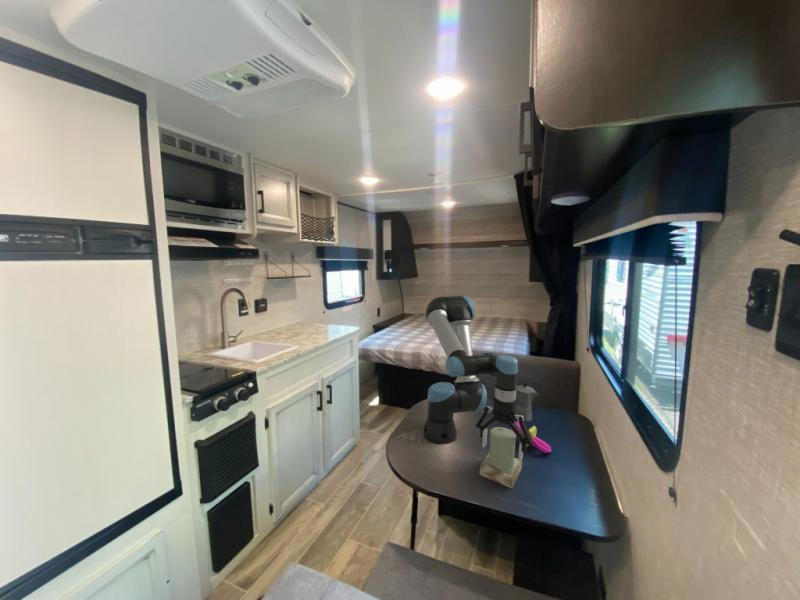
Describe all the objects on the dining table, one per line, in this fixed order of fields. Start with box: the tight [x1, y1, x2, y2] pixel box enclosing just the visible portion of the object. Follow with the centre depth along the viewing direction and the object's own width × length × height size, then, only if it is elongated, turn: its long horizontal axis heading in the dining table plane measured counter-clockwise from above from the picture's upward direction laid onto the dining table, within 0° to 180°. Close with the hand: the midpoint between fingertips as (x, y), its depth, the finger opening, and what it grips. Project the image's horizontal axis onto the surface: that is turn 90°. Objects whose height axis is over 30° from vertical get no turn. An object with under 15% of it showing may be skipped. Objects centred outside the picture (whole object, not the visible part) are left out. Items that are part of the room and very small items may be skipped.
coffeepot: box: [515, 382, 539, 423], centre depth 162 cm, size 15×9×18 cm, turn 44°
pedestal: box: [478, 452, 523, 489], centre depth 120 cm, size 12×12×4 cm
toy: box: [510, 420, 552, 454], centre depth 137 cm, size 10×18×10 cm, turn 45°
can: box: [488, 426, 517, 470], centre depth 119 cm, size 9×9×12 cm
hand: (501, 452), depth 119 cm, fingers open, 13 cm apart
